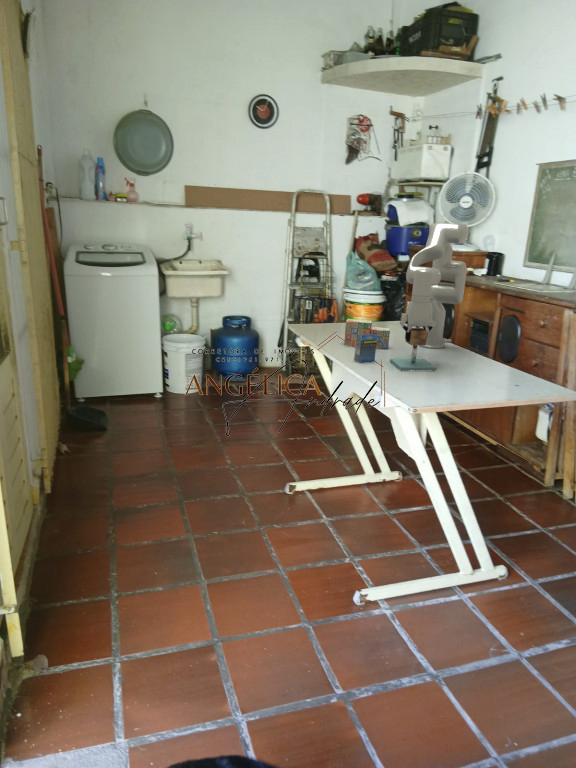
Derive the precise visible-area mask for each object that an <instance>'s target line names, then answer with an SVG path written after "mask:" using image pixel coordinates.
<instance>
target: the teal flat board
mask: <svg viewBox="0 0 576 768" xmlns="http://www.w3.org/2000/svg"><path fill="white" fill-rule="evenodd" d="M389 363H390V364H392V365H393V366H394V367H395V368H397V370H399V371H400V372H411V371H410V370H415V371H414V372H417V371H416V370H437V371H438V367H437V366H436V365H434V364H433V363H432V362H430V361H429V360H427V359H425V358H416V363H415V364H413V363H411V358H389ZM408 370H409V371H408Z"/></svg>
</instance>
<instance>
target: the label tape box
mask: <svg viewBox="0 0 576 768" xmlns="http://www.w3.org/2000/svg"><path fill="white" fill-rule="evenodd" d="M369 336H370V337H372V338H370V339H367V337H369ZM376 345H377V334H370V335H361V341H358V342H356V346H354V349H355V350H354V358H353V360H354V362H357V363H364V362H372V361H375V360H376V359H375V358H376V351H377V348H376Z"/></svg>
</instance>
